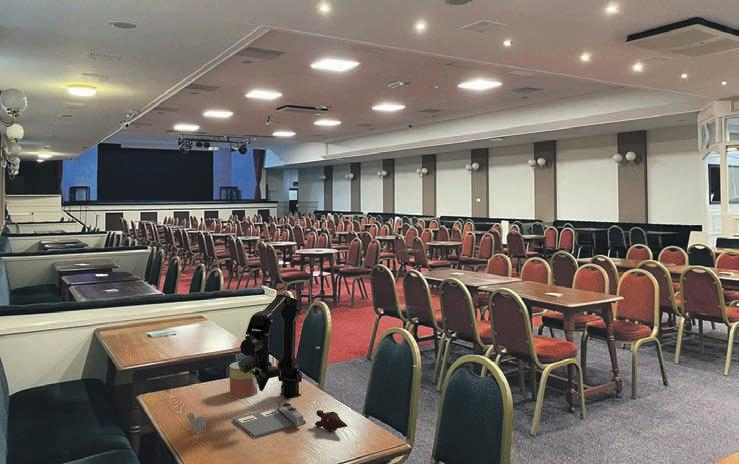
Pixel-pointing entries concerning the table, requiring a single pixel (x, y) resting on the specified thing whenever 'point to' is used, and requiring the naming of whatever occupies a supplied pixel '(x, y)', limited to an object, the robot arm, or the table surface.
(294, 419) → the cable arm
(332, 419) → the icecream
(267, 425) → the equipment panel
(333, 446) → the table surface
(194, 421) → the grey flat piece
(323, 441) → the table surface
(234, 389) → the canned food
